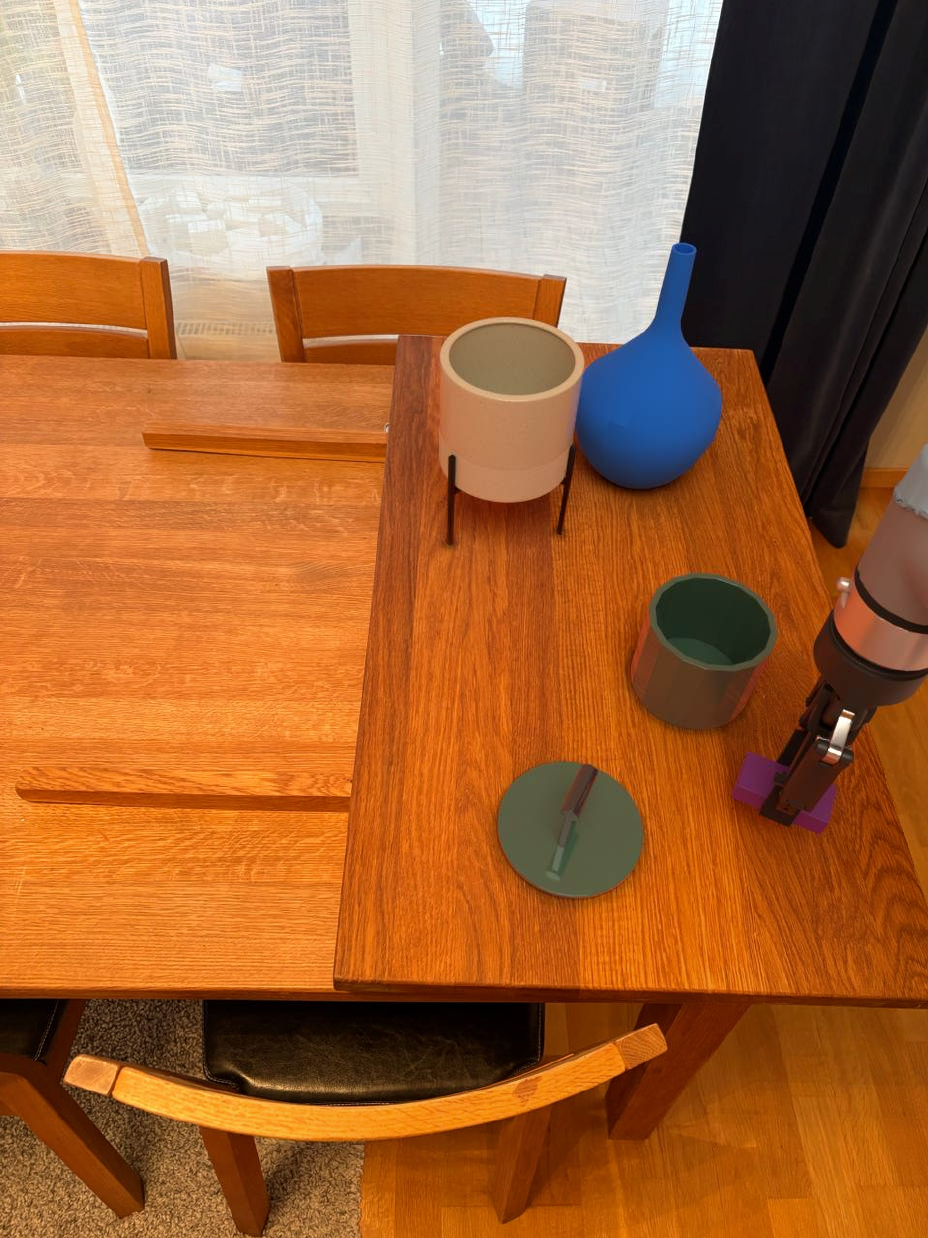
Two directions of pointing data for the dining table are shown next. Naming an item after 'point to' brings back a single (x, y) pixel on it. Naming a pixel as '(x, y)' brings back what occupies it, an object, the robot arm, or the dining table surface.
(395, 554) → the dining table surface
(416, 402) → the dining table surface
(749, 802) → the purple rectangular block
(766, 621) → the cylinder
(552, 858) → the lid
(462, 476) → the planter
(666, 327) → the vase
